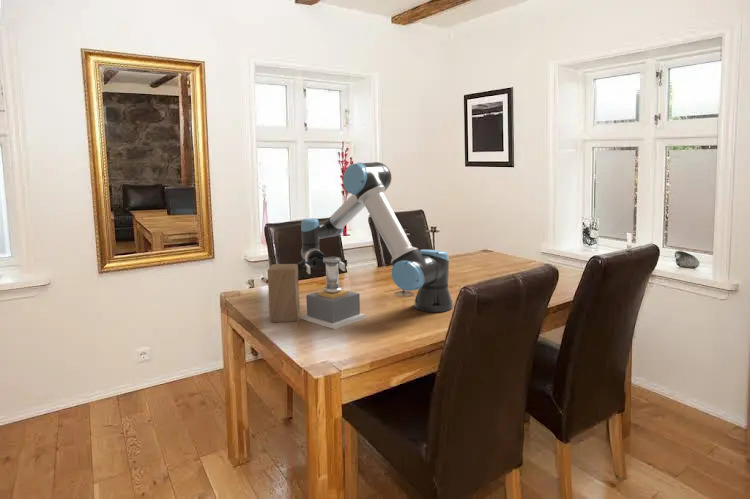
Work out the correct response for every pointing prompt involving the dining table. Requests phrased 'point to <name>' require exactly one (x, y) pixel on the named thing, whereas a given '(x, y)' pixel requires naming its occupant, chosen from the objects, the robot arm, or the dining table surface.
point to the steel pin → (332, 274)
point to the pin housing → (333, 308)
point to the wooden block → (283, 292)
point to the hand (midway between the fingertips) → (326, 269)
